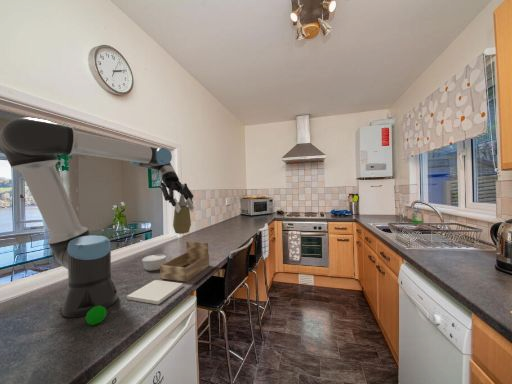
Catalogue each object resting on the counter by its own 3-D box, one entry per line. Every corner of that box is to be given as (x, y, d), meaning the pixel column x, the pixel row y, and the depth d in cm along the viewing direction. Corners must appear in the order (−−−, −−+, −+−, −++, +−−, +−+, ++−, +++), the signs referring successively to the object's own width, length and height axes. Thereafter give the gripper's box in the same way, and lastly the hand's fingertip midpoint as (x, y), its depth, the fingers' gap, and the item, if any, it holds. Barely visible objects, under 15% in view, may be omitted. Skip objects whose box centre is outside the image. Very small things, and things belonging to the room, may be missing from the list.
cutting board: (126, 299, 75) (126, 296, 75) (155, 282, 89) (155, 279, 89) (158, 304, 71) (158, 301, 71) (183, 286, 85) (182, 283, 85)
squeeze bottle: (168, 233, 95) (169, 194, 95) (182, 230, 102) (182, 194, 102) (181, 235, 91) (181, 194, 91) (194, 232, 98) (194, 194, 98)
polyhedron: (110, 317, 64) (110, 302, 64) (98, 328, 60) (98, 311, 59) (94, 318, 64) (93, 303, 64) (81, 328, 59) (80, 312, 59)
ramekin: (170, 263, 112) (170, 254, 112) (158, 272, 101) (158, 261, 101) (151, 263, 113) (150, 254, 113) (137, 271, 102) (137, 260, 102)
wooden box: (159, 278, 93) (159, 252, 92) (186, 263, 112) (186, 241, 112) (186, 282, 89) (185, 254, 89) (209, 265, 108) (208, 242, 108)
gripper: (183, 182, 114) (200, 213, 103) (147, 181, 99) (162, 217, 89) (188, 172, 111) (207, 203, 100) (151, 169, 96) (168, 205, 85)
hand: (186, 210), depth 94 cm, fingers closed on squeeze bottle, 6 cm apart
